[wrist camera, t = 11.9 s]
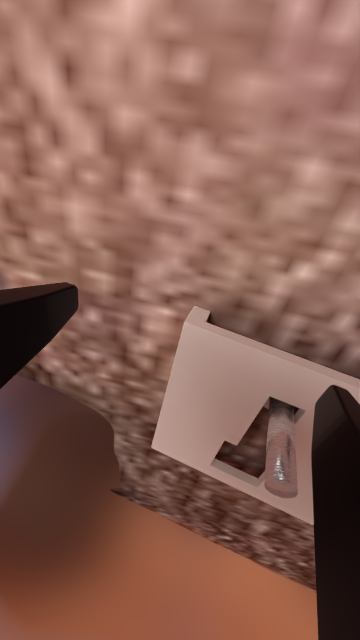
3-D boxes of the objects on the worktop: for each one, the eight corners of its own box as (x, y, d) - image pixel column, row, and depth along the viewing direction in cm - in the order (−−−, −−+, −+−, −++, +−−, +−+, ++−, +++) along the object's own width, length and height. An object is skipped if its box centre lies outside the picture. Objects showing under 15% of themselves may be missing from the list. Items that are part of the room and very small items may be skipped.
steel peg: (317, 382, 22) (334, 491, 14) (293, 411, 24) (298, 516, 17) (267, 363, 22) (260, 457, 15) (250, 393, 25) (236, 487, 18)
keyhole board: (444, 396, 18) (466, 428, 16) (310, 498, 30) (312, 525, 28) (194, 305, 22) (184, 321, 20) (160, 428, 33) (151, 447, 31)
